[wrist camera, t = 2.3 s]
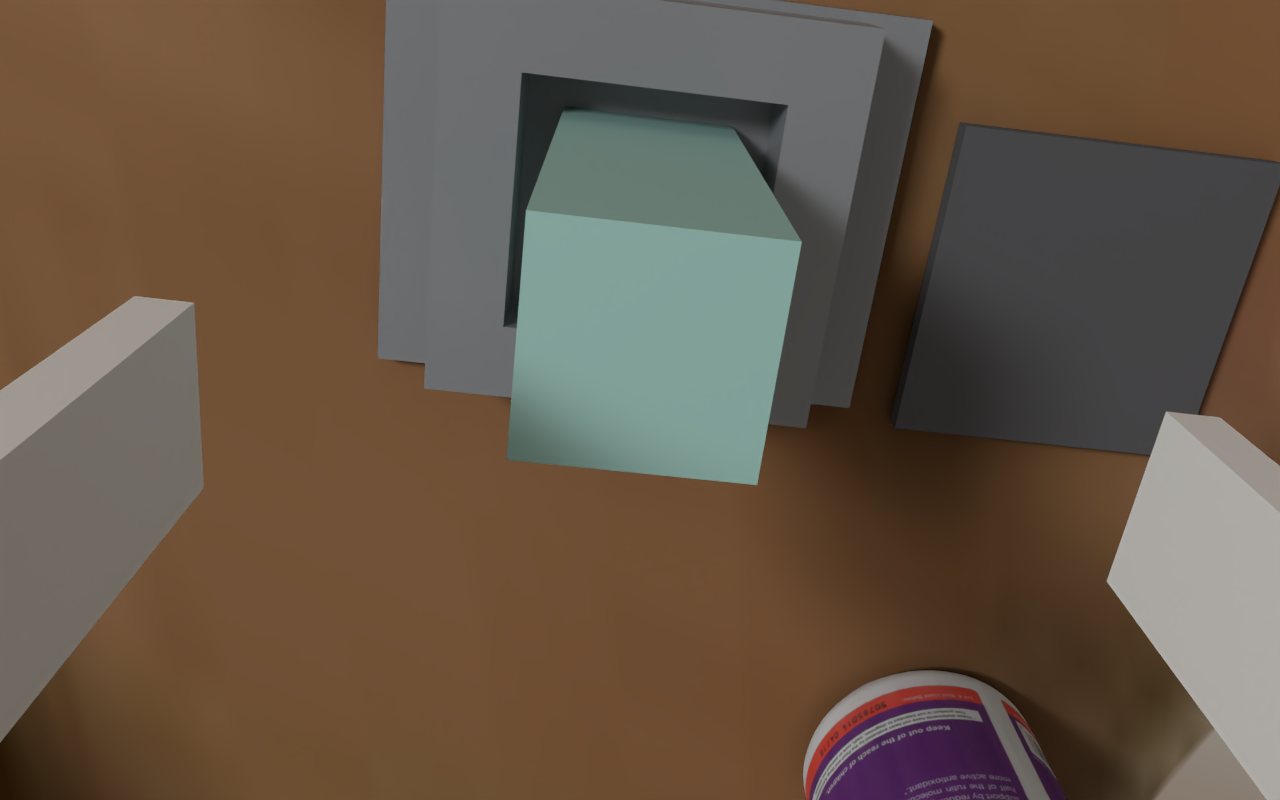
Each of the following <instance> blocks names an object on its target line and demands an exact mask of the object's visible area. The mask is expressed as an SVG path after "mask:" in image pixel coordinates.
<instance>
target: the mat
mask: <svg viewBox="0 0 1280 800" xmlns="http://www.w3.org/2000/svg"><path fill="white" fill-rule="evenodd" d="M1279 186H1280V163H1279V162H1276V161H1270V160H1262V159H1254V158H1246V157H1238V156H1230V155H1221V154H1213V153H1205V152H1197V151H1189V150H1181V149H1173V148H1164V147H1156V146H1148V145H1140V144H1132V143H1124V142H1116V141H1107V140H1099V139H1091V138H1083V137H1075V136H1067V135H1059V134H1050V133H1042V132H1034V131H1026V130H1018V129H1010V128H1002V127H993V126H985V125H977V124H969V123H961V122H960V124H959V129H958V133H957V137H956V141H955V146H954V150H953V154H952V159H951V163H950V167H949V171H948V176H947V180H946V184H945V188H944V193H943V197H942V201H941V205H940V210H939V214H938V218H937V223H936V227H935V231H934V235H933V240H932V244H931V248H930V252H929V257H928V261H927V265H926V270H925V274H924V278H923V282H922V287H921V291H920V295H919V299H918V304H917V308H916V312H915V317H914V321H913V325H912V329H911V334H910V338H909V342H908V346H907V351H906V355H905V359H904V363H903V368H902V372H901V376H900V381H899V385H898V389H897V393H896V398H895V402H894V406H893V410H892V415H891V419H890V421H891V422H892V424H893V426H894V428H897V429H907V430H916V431H926V432H935V433H945V434H955V435H964V436H974V437H983V438H993V439H1002V440H1012V441H1021V442H1031V443H1041V444H1050V445H1060V446H1069V447H1079V448H1088V449H1098V450H1108V451H1117V452H1127V453H1136V454H1146V455H1151V453H1152V450H1153V447H1154V444H1155V442H1156V439H1157V436H1158V433H1159V430H1160V427H1161V424H1162V422H1163V419H1164V416H1165V413H1166V412H1175V413H1184V414H1193V415H1197V414H1198V411H1199V409H1200V406H1201V403H1202V400H1203V398H1204V395H1205V392H1206V389H1207V386H1208V384H1209V381H1210V378H1211V375H1212V372H1213V370H1214V367H1215V364H1216V361H1217V359H1218V356H1219V353H1220V350H1221V347H1222V345H1223V342H1224V339H1225V336H1226V334H1227V331H1228V328H1229V325H1230V322H1231V320H1232V317H1233V314H1234V311H1235V309H1236V306H1237V303H1238V300H1239V297H1240V295H1241V292H1242V289H1243V286H1244V283H1245V281H1246V278H1247V275H1248V272H1249V270H1250V267H1251V264H1252V261H1253V258H1254V256H1255V253H1256V250H1257V247H1258V245H1259V242H1260V239H1261V236H1262V233H1263V231H1264V228H1265V225H1266V222H1267V219H1268V217H1269V214H1270V211H1271V208H1272V206H1273V203H1274V200H1275V197H1276V194H1277V192H1278V189H1279Z"/></svg>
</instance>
